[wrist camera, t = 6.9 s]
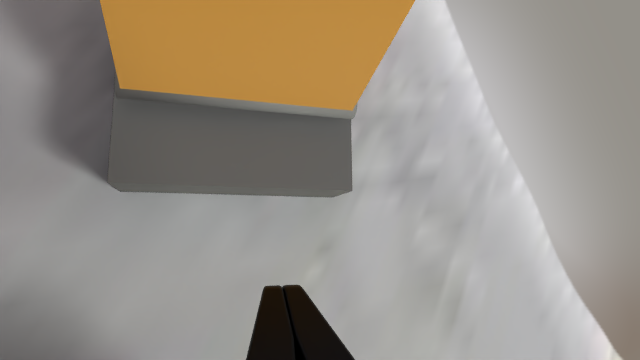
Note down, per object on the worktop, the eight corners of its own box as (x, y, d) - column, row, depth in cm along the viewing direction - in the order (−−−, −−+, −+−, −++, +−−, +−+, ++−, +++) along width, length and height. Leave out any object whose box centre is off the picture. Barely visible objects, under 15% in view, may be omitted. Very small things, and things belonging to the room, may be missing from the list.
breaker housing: (332, 197, 23) (353, 190, 20) (120, 191, 19) (106, 182, 16) (331, 64, 24) (350, 39, 21) (131, 38, 21) (119, 4, 18)
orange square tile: (349, 124, 20) (462, -67, 12) (117, 104, 17) (48, -174, 9) (346, 104, 20) (451, -92, 12) (121, 82, 17) (59, -200, 9)
